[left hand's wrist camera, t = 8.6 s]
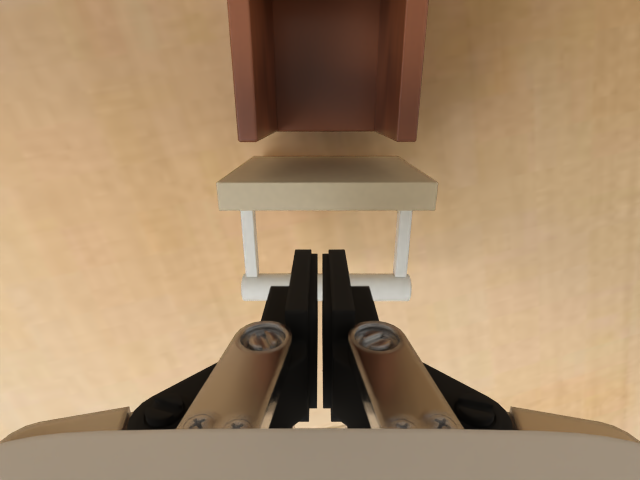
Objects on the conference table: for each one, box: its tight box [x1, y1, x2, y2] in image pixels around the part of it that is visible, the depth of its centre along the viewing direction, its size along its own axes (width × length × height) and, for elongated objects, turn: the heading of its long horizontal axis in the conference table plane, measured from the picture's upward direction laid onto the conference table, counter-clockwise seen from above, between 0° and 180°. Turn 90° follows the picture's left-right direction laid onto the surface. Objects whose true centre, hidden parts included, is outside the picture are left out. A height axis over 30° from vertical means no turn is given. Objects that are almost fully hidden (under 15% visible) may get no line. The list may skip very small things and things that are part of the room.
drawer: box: [216, 0, 438, 301], centre depth 17 cm, size 24×9×8 cm, turn 0°
